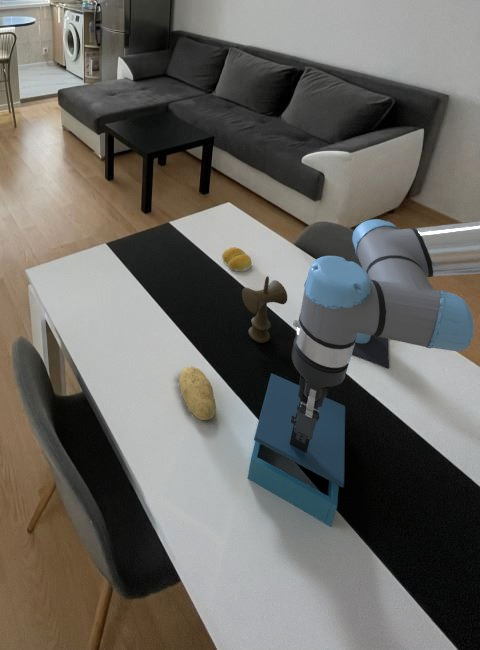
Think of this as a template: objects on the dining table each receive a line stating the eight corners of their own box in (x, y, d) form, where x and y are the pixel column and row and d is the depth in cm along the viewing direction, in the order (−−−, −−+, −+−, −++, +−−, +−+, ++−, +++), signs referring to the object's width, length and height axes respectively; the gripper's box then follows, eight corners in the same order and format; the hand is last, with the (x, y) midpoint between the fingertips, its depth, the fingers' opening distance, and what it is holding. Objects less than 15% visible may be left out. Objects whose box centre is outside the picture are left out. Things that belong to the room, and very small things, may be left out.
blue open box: (329, 533, 74) (337, 506, 71) (246, 484, 81) (250, 458, 78) (337, 434, 88) (344, 409, 86) (266, 400, 96) (270, 376, 93)
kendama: (235, 332, 113) (242, 272, 105) (266, 322, 115) (275, 263, 107) (250, 351, 107) (258, 290, 100) (282, 340, 110) (293, 280, 102)
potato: (202, 377, 101) (203, 358, 99) (222, 425, 91) (224, 406, 89) (174, 381, 101) (175, 362, 98) (191, 430, 91) (193, 411, 88)
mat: (387, 326, 112) (388, 325, 112) (388, 368, 101) (389, 367, 101) (327, 305, 119) (327, 304, 119) (321, 342, 108) (322, 341, 108)
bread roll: (235, 276, 131) (236, 265, 130) (217, 257, 139) (218, 247, 138) (257, 268, 134) (259, 258, 132) (238, 251, 141) (240, 241, 140)
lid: (343, 488, 69) (344, 483, 69) (253, 440, 76) (254, 436, 76) (344, 409, 85) (345, 405, 85) (270, 376, 93) (271, 373, 92)
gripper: (300, 309, 73) (281, 402, 82) (287, 369, 63) (268, 468, 72) (351, 328, 69) (326, 423, 78) (347, 395, 59) (318, 496, 68)
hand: (298, 444), depth 75 cm, fingers closed
